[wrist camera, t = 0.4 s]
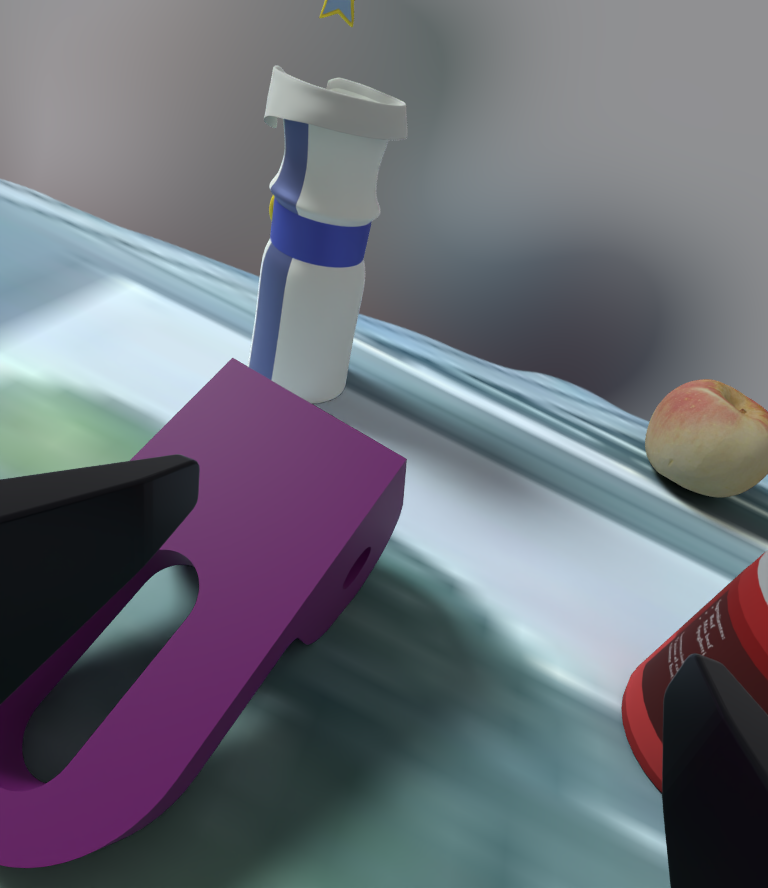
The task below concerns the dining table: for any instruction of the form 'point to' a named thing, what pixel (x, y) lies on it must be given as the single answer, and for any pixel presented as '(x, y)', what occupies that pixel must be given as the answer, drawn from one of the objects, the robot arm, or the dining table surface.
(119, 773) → the mounting bracket
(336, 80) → the water bottle
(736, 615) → the canned food
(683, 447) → the peach
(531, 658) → the dining table surface
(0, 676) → the robot arm
